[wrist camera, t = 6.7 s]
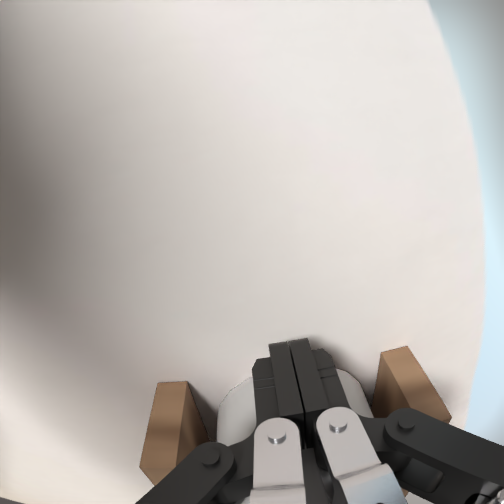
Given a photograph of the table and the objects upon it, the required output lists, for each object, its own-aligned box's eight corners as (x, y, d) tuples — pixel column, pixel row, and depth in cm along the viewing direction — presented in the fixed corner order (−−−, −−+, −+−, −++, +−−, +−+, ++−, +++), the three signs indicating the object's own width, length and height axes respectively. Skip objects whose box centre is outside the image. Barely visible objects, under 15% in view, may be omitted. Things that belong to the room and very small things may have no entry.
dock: (157, 382, 14) (139, 467, 10) (407, 345, 14) (451, 417, 10) (204, 474, 18) (201, 534, 14) (380, 448, 18) (400, 503, 14)
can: (243, 451, 17) (254, 627, 6) (194, 373, 14) (174, 632, 3) (363, 420, 17) (420, 593, 6) (351, 330, 14) (460, 587, 3)
